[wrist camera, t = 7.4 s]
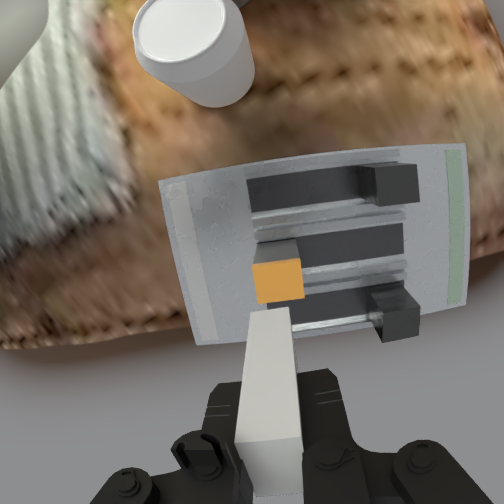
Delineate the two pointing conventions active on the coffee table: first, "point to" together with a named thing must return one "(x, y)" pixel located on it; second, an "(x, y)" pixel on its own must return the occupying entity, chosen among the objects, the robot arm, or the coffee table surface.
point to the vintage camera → (240, 3)
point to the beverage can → (196, 49)
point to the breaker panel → (325, 239)
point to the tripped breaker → (277, 272)
